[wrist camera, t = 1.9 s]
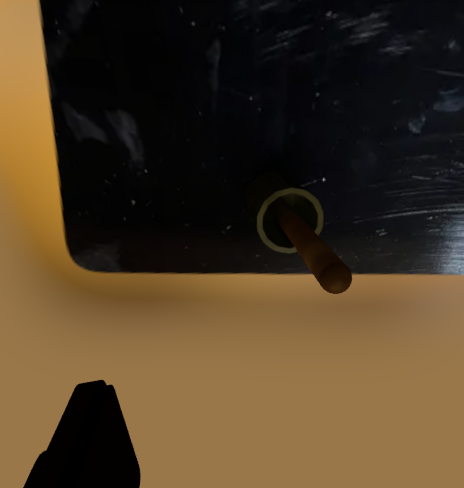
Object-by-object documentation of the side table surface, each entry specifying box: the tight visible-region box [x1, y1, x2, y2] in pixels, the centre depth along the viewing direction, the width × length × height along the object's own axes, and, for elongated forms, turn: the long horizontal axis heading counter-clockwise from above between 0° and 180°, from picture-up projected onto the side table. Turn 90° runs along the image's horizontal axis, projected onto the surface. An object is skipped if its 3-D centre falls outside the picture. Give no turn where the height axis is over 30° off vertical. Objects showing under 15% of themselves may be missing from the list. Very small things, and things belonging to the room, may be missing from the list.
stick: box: [268, 196, 352, 294], centre depth 23 cm, size 1×1×16 cm
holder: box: [245, 171, 324, 253], centre depth 28 cm, size 4×4×7 cm
